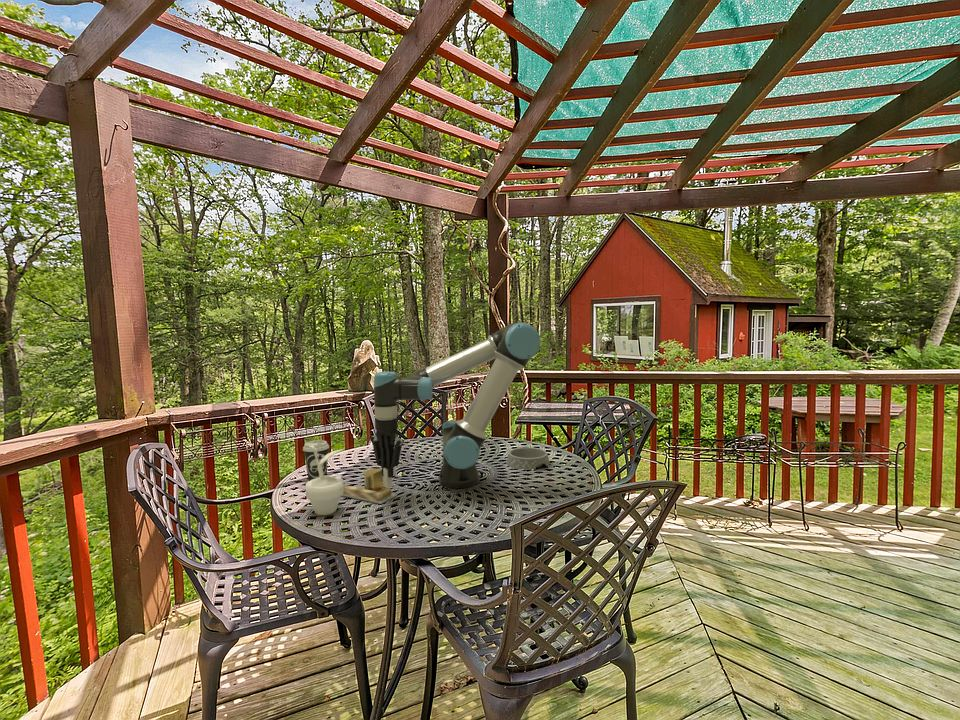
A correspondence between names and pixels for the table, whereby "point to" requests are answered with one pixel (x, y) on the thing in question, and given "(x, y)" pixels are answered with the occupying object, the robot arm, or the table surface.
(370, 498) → the beige flat bent piece
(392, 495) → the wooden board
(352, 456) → the table surface
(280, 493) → the table surface
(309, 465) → the coffee cup
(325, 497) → the potted plant
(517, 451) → the dog bowl
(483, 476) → the table surface
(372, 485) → the sliding head
